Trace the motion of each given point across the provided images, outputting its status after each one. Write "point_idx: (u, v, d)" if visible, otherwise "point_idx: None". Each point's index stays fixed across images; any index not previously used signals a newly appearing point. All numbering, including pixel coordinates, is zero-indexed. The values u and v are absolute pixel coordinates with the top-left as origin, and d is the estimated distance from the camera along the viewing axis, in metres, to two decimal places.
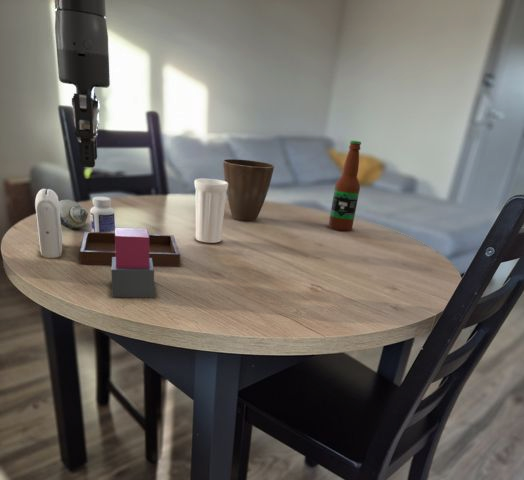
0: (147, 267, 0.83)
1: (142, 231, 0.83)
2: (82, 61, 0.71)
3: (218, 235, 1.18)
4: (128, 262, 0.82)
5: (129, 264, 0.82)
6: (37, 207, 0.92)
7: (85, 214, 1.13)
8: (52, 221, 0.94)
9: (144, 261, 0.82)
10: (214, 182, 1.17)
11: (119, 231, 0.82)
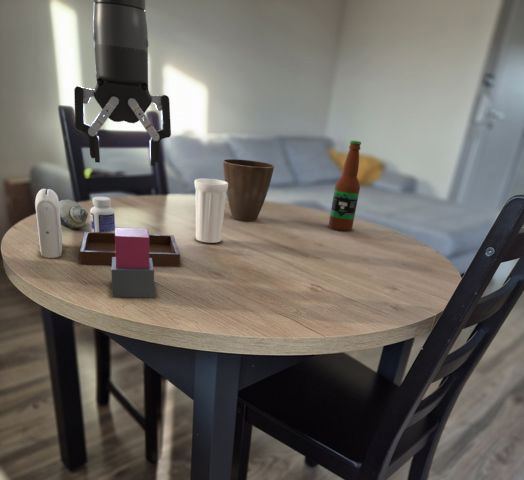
0: (147, 267, 0.83)
1: (142, 231, 0.83)
2: None
3: (218, 235, 1.18)
4: (128, 262, 0.82)
5: (129, 264, 0.82)
6: (37, 207, 0.92)
7: (85, 214, 1.13)
8: (52, 221, 0.94)
9: (144, 261, 0.82)
10: (214, 182, 1.17)
11: (119, 231, 0.82)
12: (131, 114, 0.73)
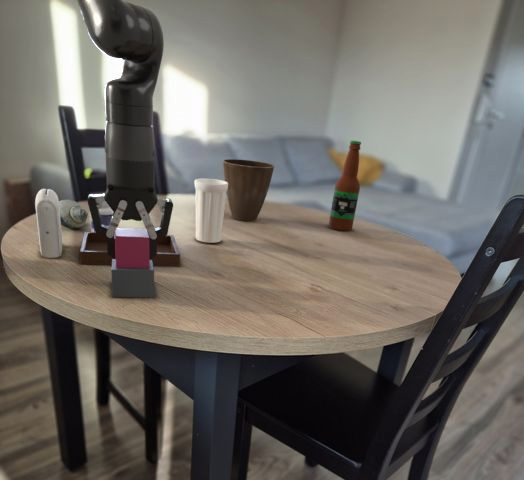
0: (147, 267, 0.83)
1: (142, 231, 0.83)
2: (106, 163, 0.76)
3: (218, 235, 1.18)
4: (128, 262, 0.82)
5: (129, 264, 0.82)
6: (37, 207, 0.92)
7: (85, 214, 1.13)
8: (52, 221, 0.94)
9: (144, 262, 0.82)
10: (214, 182, 1.17)
11: (119, 231, 0.82)
12: (138, 213, 0.80)
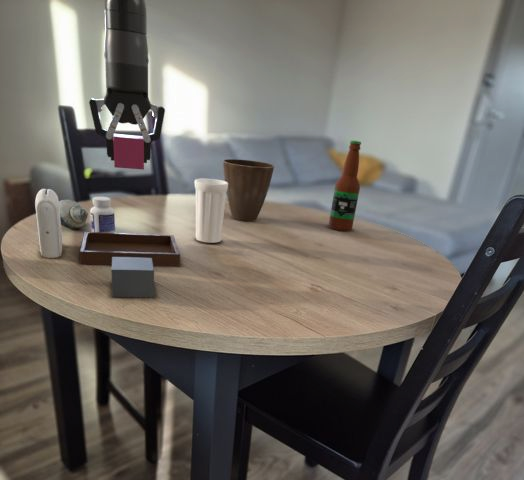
0: (142, 168, 0.93)
1: (138, 136, 0.94)
2: (105, 69, 0.87)
3: (218, 235, 1.18)
4: (125, 162, 0.92)
5: (126, 164, 0.92)
6: (37, 207, 0.92)
7: (85, 214, 1.13)
8: (52, 221, 0.94)
9: (139, 162, 0.93)
10: (214, 182, 1.17)
11: (117, 135, 0.92)
12: (134, 117, 0.90)
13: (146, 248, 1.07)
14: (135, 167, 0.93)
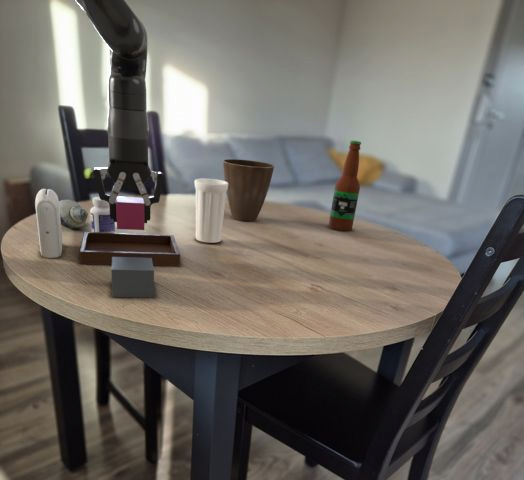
0: (143, 229, 1.00)
1: (138, 199, 1.00)
2: (108, 141, 0.93)
3: (218, 235, 1.18)
4: (127, 224, 0.99)
5: (128, 226, 0.99)
6: (37, 207, 0.92)
7: (85, 214, 1.13)
8: (52, 221, 0.94)
9: (140, 224, 0.99)
10: (214, 182, 1.17)
11: (119, 198, 0.99)
12: (135, 183, 0.97)
13: (146, 248, 1.07)
14: (136, 228, 1.00)
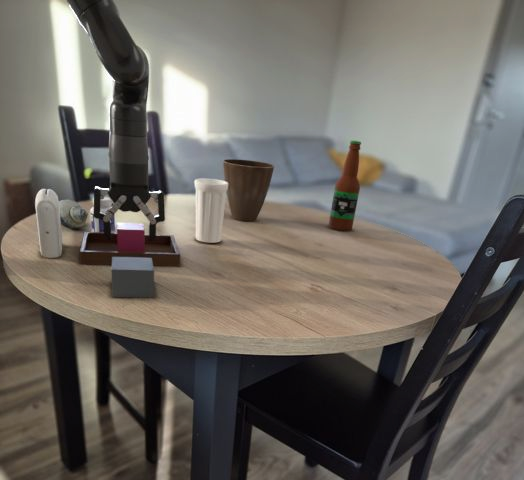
0: None
1: (139, 225, 1.03)
2: (109, 166, 0.95)
3: (218, 235, 1.18)
4: (128, 250, 1.01)
5: None
6: (37, 207, 0.92)
7: (85, 214, 1.13)
8: (52, 221, 0.94)
9: (140, 250, 1.02)
10: (214, 182, 1.17)
11: (120, 225, 1.01)
12: (135, 206, 0.99)
13: (146, 248, 1.07)
14: None
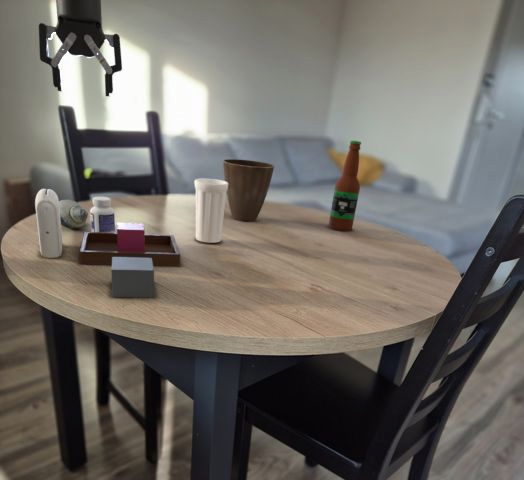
0: None
1: (139, 225, 1.03)
2: None
3: (218, 235, 1.18)
4: (128, 250, 1.01)
5: None
6: (37, 207, 0.92)
7: (85, 214, 1.13)
8: (52, 221, 0.94)
9: (140, 250, 1.02)
10: (214, 182, 1.17)
11: (120, 225, 1.01)
12: (87, 49, 0.88)
13: (146, 248, 1.07)
14: None
